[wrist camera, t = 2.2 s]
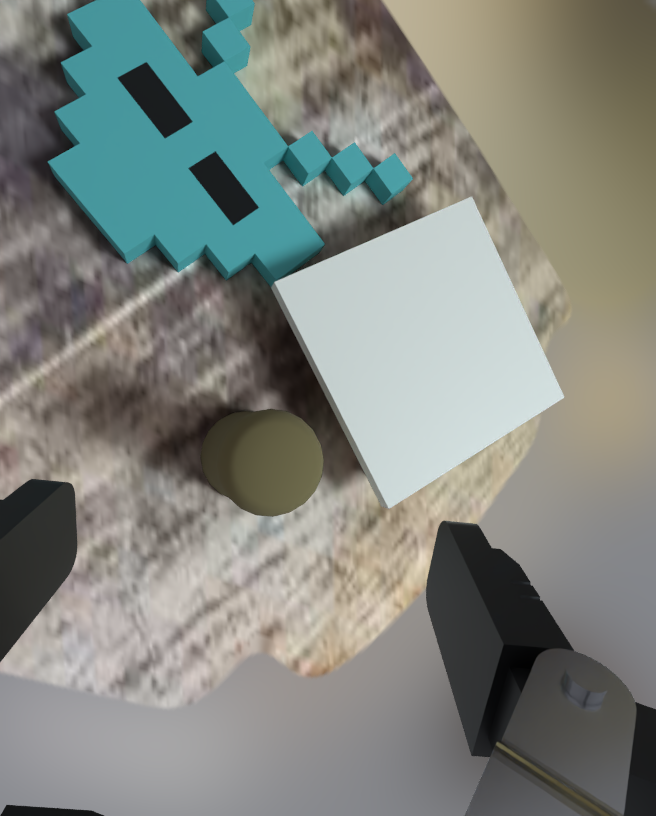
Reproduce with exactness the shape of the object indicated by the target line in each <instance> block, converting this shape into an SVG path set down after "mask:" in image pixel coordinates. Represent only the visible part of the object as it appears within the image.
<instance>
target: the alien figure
mask: <svg viewBox="0 0 656 816" xmlns="http://www.w3.org/2000/svg"><path fill="white" fill-rule="evenodd" d="M254 4H255V3H254V2H253V1H252V0H207V1H206V11H207V12H208V14H209V15H210V16H211V18H212V19H213V20H214V22H215V23H216V25H214V26H212V27H210V28H208V29H207V30H205V31H203V33H202V53H203V55H204V56H205V57H206V59H207V60H208V61H209V63H210V64H211V65H212V67H213V68H212V69H210V70H208V71H206V72H205V73H203V74H201V75H199V76H197V75H196V73H195V72H194V71H193V69H192V68H191V67H190V65H189V64H188V63H187V61H186V60H185V59H184V57H183V56H182V55H181V54H180V52H179V51H178V50H177V48H176V47H175V46H174V44H173V43H172V42H171V40H170V39H169V38H168V36H167V35H166V34H165V32H164V31H163V30H162V28H161V27H160V26H159V25H158V23H157V22H156V21H155V19H154V18H153V17H152V15H151V14H150V13H149V11H148V10H147V9H146V7H145V6H144V5H143V3H142V2H141V1H140V0H96V1H93V2H91V3H89V4H87V5H85V6H83V7H81V8H79V9H77V10H75V11H73V12H71V13H69V14H67V16H68V20H69V23H70V27H71V31H72V34H73V38H74V39H75V40H76V41H77V43H78V44H79V45H80V46H81V48H82V49H83V50H84V51H82V52H80V53H78V54H76V55H74V56H72V57H70V58H69V59H67V60H65V61H63V62H61V65H62V68H63V71H64V74H65V77H66V80H67V83H68V85H69V86H70V87H71V88H72V90H73V91H74V92H75V93H76V95H77V96H78V97H79V99H77V100H75V101H73V102H71V103H69V104H67V105H66V106H64V107H62V108H60V109H58V110H56V111H55V115H56V118H57V120H58V123H59V125H60V128H61V130H62V131H63V132H64V134H65V135H66V136H67V137H68V139H69V140H70V141H71V142H72V143H73V145H74V147H73V148H71V149H69V150H67V151H66V152H64V153H62V154H60V155H59V156H57V157H55V158H53V159H52V160H50V161H48V164H49V166H50V168H51V170H52V172H53V174H54V176H55V178H56V179H57V180H58V181H59V182H60V184H61V185H62V186H63V187H64V188H65V190H66V191H67V192H68V193H69V194H70V196H71V197H72V198H73V199H74V200H75V202H76V203H77V204H78V205H79V206H80V208H81V209H82V210H83V211H84V212H85V214H86V215H87V216H88V217H89V218H90V220H91V221H92V222H93V223H94V224H95V225H96V227H97V228H98V229H99V230H100V231H101V233H102V234H103V235H104V236H105V237H106V239H107V240H108V241H109V242H110V243H111V245H112V246H113V247H114V248H115V249H116V251H117V252H118V253H119V254H120V255H121V257H122V258H123V259H124V260H125V261H126V263H127V264H128V263H129V262H131V261H132V260H134V259H135V258H137V257H138V256H140V255H141V254H143V253H144V252H146V251H147V250H149V249H150V248H152V247H153V246H155V245H156V246H157V247H158V248H159V249H160V251H161V252H162V253H163V254H164V256H165V257H166V258H167V259H168V260H169V262H170V263H171V264H172V265H173V267H174V268H175V269H176V270H177V271H178V272H180V271H181V270H182V269H184V268H185V267H187V266H188V265H190V264H191V263H193V262H194V261H195V260H197V259H198V258H200V257H201V256H203V255H204V254H205V255H206V256H207V257H208V258H209V260H210V261H211V262H212V263H213V265H214V266H215V267H216V268H217V270H218V271H219V272H220V273H221V275H222V276H223V277H224V278H225V280H228V279H229V278H231V277H232V276H233V275H235V274H236V273H237V272H239V271H240V270H242V269H243V268H244V267H246V266H247V265H249V264H250V263H252V264H253V265H254V266H255V268H256V269H257V270H258V271H259V273H260V274H261V275H262V276H263V278H264V279H265V280H266V282H267V283H268V284H269V285H270V287H272V285H273V283H274V282H275V281H278V280H280V279H282V278H285V277H287V276H289V275H290V274H292V273H293V272H294V271H296V270H297V269H298V268H300V267H301V266H302V265H304V264H305V263H306V262H308V261H309V260H310V259H312V258H313V257H314V256H316V255H317V254H318V253H319V252H320V250H321V249H322V248H323V246H324V245H325V243H324V242H323V241H322V239H321V238H320V237H319V235H318V234H317V233H316V232H315V230H314V229H313V228H312V226H311V225H310V224H309V222H308V221H307V220H306V218H305V217H304V216H303V214H302V213H301V212H300V210H299V209H298V208H297V206H296V205H295V204H294V203H293V201H292V200H291V199H290V197H289V196H288V195H287V193H286V192H285V191H284V189H283V188H282V187H281V185H280V184H279V183H278V181H277V180H276V179H275V177H274V176H273V175H272V174H271V172H270V171H269V170H270V169H271V168H273V167H274V166H276V165H277V164H279V163H280V162H282V161H284V162H285V164H286V165H287V166H288V168H289V169H290V170H291V172H292V173H293V174H294V176H295V177H296V178H297V180H298V181H299V182H300V184H301V185H302V186H304V185H305V184H307V183H308V182H310V181H311V180H313V179H314V178H315V177H317V176H318V175H320V174H321V173H323V172H324V171H325V172H326V173H327V174H328V176H329V177H330V178H331V180H332V181H333V182H334V184H335V185H336V186H337V188H338V189H339V190H340V192H341V193H342V195H343V196H344V195H346V194H347V193H348V192H350V191H351V190H353V189H354V188H355V187H357V186H358V185H360V184H361V183H362V182H364V181H365V182H366V183H367V184H368V186H369V187H370V189H371V190H372V191H373V193H374V194H375V195H376V197H377V198H378V200H379V201H380V202H381V204H382V205H384V204H385V203H386V202H388V201H389V200H390V199H392V198H393V197H394V196H396V195H397V194H398V193H400V192H401V191H402V190H403V189H404V188H405V187H406V186H407V185H408V184H409V183H410V181H411V180H412V179H413V178H412V177H411V175H410V174H409V172H408V171H407V170H406V168H405V167H404V165H403V164H402V162H401V161H400V160H399V158H398V157H397V155H396V154H395V153H394V154H393V155H392V156H390V157H389V158H387V159H386V160H385V161H383V162H382V163H380V164H379V165H378V166H376V167H375V168H373V167H372V166H371V164H370V163H369V161H368V160H367V159H366V157H365V156H364V155H363V153H362V152H361V150H360V149H359V148H358V146H357V145H356V143H355V142H354V143H353V144H351V145H350V146H348V147H347V148H346V149H344V150H343V151H341V152H340V153H338V154H337V155H335V156H334V157H331V156H330V154H329V153H328V152H327V150H326V149H325V148H324V146H323V145H322V143H321V142H320V141H319V139H318V138H317V137H316V135H315V134H314V133H313V131H311V132H309V133H308V134H306V135H305V136H303V137H302V138H300V139H299V140H297V141H296V142H294V143H293V144H291V145H290V146H287V144H286V143H285V142H284V140H283V139H282V137H281V136H280V135H279V133H278V132H277V131H276V129H275V128H274V127H273V125H272V124H271V123H270V121H269V120H268V119H267V117H266V116H265V115H264V113H263V112H262V111H261V109H260V108H259V107H258V105H257V104H256V103H255V101H254V100H253V99H252V97H251V96H250V95H249V93H248V92H247V91H246V89H245V88H244V87H243V85H242V84H241V82H240V81H239V80H238V78H237V77H236V76H235V74H234V73H235V72H237V71H239V70H241V69H242V68H244V67H246V66H247V63H248V58H249V52H250V45H249V44H248V43H247V41H246V40H245V38H244V37H243V36H242V34H241V33H240V32H239V31H241V30H243V29H244V28H246V27H248V26H250V25H251V22H252V16H253V10H254Z"/></svg>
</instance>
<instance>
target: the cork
mask: <svg viewBox="0 0 656 816" xmlns="http://www.w3.org/2000/svg"><path fill="white" fill-rule="evenodd" d="M323 462H324V459H323V454H322V448H321V444H320V442H319V441H318V439H317V437H316V435H315V433H314V431H313V430H312V429H311V428H310V427H309V426H308V425H307V424H306V423H305V422H304V421H303V420H302V419H301V418H299V417H297V416H295V415H293V414H291V413H289V412H287V411H282V410H275V409H267V410H261V411H255V412H250V411H242V412H236V413H232V414H230V415H228V416H226V417H224V418H222V419H220V420H219V421H218V422H217V423H216V424H215V425H214V426H213V427H212V428H211V429H210V430H209V431H208V433H207V435H206V437H205V439H204V441H203V444H202V451H201V463H202V469H203V472H204V474H205V476H206V478H207V480H208V482H209V483H210V485H211V486H212V487H214V488H215V489H216V490H217V491H218V492H219V493H220V494H222V495H224V496H227V497H229V498H230V499H231V500H232V501H233V502H234V503H235V504H236V505H237V506H239V507H240V508H241V509H243V510H245V511H248V512H250V513H252V514H255V515H260V516H272V517H273V516H277V515H282V514H286V513H289V512H291V511H293V510H294V509H296V508H298V507H299V506H301V505H303V504H304V503H305V502H306V501H307V500H308V499H309V498H310V497H311V495H312V494H313V493H314V492H315V491H316V488H317V486H318V484H319V482H320V479H321V477H322V471H323Z"/></svg>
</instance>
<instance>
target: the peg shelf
mask: <svg viewBox="0 0 656 816" xmlns="http://www.w3.org/2000/svg"><path fill="white" fill-rule="evenodd" d="M271 289H272V291H273V293H274V295H275V297H276V299H277V301H278V303H279V305H280V307H281V309H282V311H283V313H284V315H285V317H286V319H287V321H288V323H289V325H290V327H291V329H292V331H293V332H294V334H295V336H296V338H297V340H298V342H299V344H300V346H301V348H302V350H303V352H304V354H305V356H306V358H307V360H308V362H309V364H310V366H311V368H312V370H313V372H314V374H315V376H316V378H317V380H318V382H319V384H320V386H321V388H322V390H323V392H324V394H325V396H326V398H327V400H328V402H329V404H330V406H331V408H332V410H333V412H334V414H335V415H336V417H337V419H338V421H339V423H340V425H341V427H342V429H343V431H344V433H345V435H346V437H347V439H348V441H349V443H350V445H351V447H352V449H353V451H354V453H355V455H356V457H357V459H358V461H359V463H360V465H361V467H362V469H363V471H364V473H365V475H366V477H367V479H368V481H369V483H370V485H371V487H372V489H373V491H374V493H375V495H376V496H377V498H378V500H379V502H380V504H381V506H382V507H385V508H388V509H389V508H391V507H392V506H394V505H396V504H397V503H399V502H400V501H402V500H403V499H405V498H407V497H408V496H410V495H411V494H413V493H415V492H416V491H418V490H419V489H421V488H422V487H424V486H426V485H427V484H429V483H430V482H432V481H433V480H435V479H437V478H438V477H440V476H441V475H443V474H444V473H446V472H448V471H449V470H451V469H452V468H454V467H455V466H457V465H459V464H460V463H462V462H463V461H465V460H466V459H468V458H470V457H471V456H473V455H474V454H476V453H478V452H479V451H481V450H482V449H484V448H485V447H487V446H489V445H490V444H492V443H493V442H495V441H496V440H498V439H500V438H501V437H503V436H504V435H506V434H507V433H509V432H511V431H512V430H514V429H515V428H517V427H518V426H520V425H522V424H523V423H525V422H526V421H528V420H529V419H531V418H533V417H534V416H536V415H537V414H539V413H541V412H542V411H544V410H545V409H547V408H548V407H550V406H552V405H553V404H555V403H556V402H558V401H559V400H561V399H563V398H564V396H563V393H562V391H561V389H560V387H559V384H558V382H557V380H556V378H555V376H554V374H553V371H552V369H551V367H550V365H549V363H548V361H547V358H546V356H545V354H544V352H543V350H542V348H541V345H540V343H539V341H538V339H537V337H536V335H535V332H534V330H533V328H532V326H531V324H530V322H529V319H528V317H527V315H526V313H525V311H524V309H523V306H522V304H521V302H520V300H519V298H518V296H517V293H516V291H515V289H514V287H513V285H512V283H511V280H510V278H509V276H508V274H507V272H506V270H505V267H504V265H503V263H502V261H501V259H500V257H499V254H498V252H497V250H496V248H495V246H494V244H493V241H492V239H491V237H490V235H489V233H488V231H487V228H486V226H485V224H484V222H483V220H482V218H481V215H480V213H479V211H478V209H477V207H476V205H475V202H474V200H473V198H472V197H470V198H467V199H465V200H463V201H460V202H458V203H456V204H453V205H451V206H449V207H446V208H444V209H442V210H440V211H437V212H435V213H433V214H430V215H428V216H426V217H423V218H421V219H419V220H416V221H414V222H412V223H409V224H407V225H405V226H403V227H400V228H398V229H396V230H393V231H391V232H389V233H386V234H384V235H382V236H379V237H377V238H375V239H372V240H370V241H368V242H366V243H363V244H361V245H359V246H356V247H354V248H352V249H349V250H347V251H345V252H342V253H340V254H338V255H335V256H333V257H331V258H329V259H326V260H324V261H322V262H319V263H317V264H315V265H312V266H310V267H308V268H305V269H303V270H301V271H298V272H296V273H294V274H292V275H289V276H287V277H285V278H282V279H280V280H278V281H275V282H274V283H273V285H272V287H271Z"/></svg>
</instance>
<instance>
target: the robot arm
mask: <svg viewBox="0 0 656 816" xmlns="http://www.w3.org/2000/svg"><path fill="white" fill-rule="evenodd" d="M76 554H77V528H76V506H75V491H74V488H73V486H72V484H70V483H68V482H58V481H48V480H38V479H31V480H29V481H27V482H26V483H25V484H23V485H22V486H21V487H19V488H18V489H17V490H16V491H14V492H13V493H12V494H10V495H9V496H8V497H6V498H5V499H4V500H0V662H1V661H2V659H3V658H4V657H5V655H6V654H7V653H8V652H9V650H10V649H11V648H12V647H13V645H14V644H15V643H16V642H17V640H18V639H19V638H20V636H21V635H22V634H23V633H24V631H25V630H26V629H27V628H28V626H29V625H30V624H31V622H32V621H33V620H34V619H35V617H36V616H37V615H38V614H39V612H40V611H41V610H42V609H43V607H44V606H45V605H46V603H47V602H48V601H49V600H50V598H51V597H52V596H53V595H54V593H55V592H56V591H57V589H58V588H59V587H60V586H61V584H62V583H63V582H64V581H65V579H66V578H67V577H68V575H69V574H70V572H71V570H72V568H73V565H74V562H75V559H76ZM426 600H427V607H428V612H429V615H430V618H431V622H432V625H433V628H434V631H435V635H436V638H437V642H438V645H439V648H440V652H441V655H442V659H443V662H444V665H445V668H446V672H447V675H448V678H449V682H450V685H451V689H452V692H453V695H454V699H455V702H456V705H457V709H458V712H459V715H460V718H461V722H462V725H463V729H464V732H465V735H466V739H467V742H468V745H469V749H470V752H471V755H472V756H482V757H490V758H489V761H488V763H487V765H486V768H485V770H484V772H483V774H482V777H481V779H480V781H479V784H478V786H477V788H476V791H475V793H474V795H473V798H472V800H471V802H470V805H469V807H468V809H467V811H466V814H465V816H656V709H653V708H650V707H647V706H644V705H642V704H639V703H637V702H635V700H634V698H633V696H632V694H631V692H630V691H629V689H628V688H627V686H626V685H625V684H624V683H623V682H622V681H621V680H620V679H619V678H618V677H617V676H616V675H615V674H614V673H613V672H612V671H610V670H609V669H608V668H607V667H605V666H603V665H602V664H601V663H599V662H598V661H596V660H594V659H592V658H590V657H588V656H586V655H584V654H581V653H578V652H576V651H574V650H573V648H572V647H571V645H570V643H569V642H568V640H567V639H566V637H565V636H564V634H563V632H562V631H561V629H560V628H559V626H558V625H557V623H556V622H555V620H554V618H553V617H552V615H551V614H550V612H549V611H548V609H547V607H546V606H545V604H544V603H543V601H540V596H539V595H538V593H537V592H536V590H535V589H534V587H533V586H531V585H530V581H529V579H528V578H527V576H526V574H525V573H524V571H523V570H522V568H521V567H520V565H519V564H518V563H516V562H515V561H514V560H513V559H512V558H511V557H509V556H508V555H507V554H506V553H505V552H503V551H502V550H501V549H493V548H491V546H490V545H489V543H488V541H487V539H486V537H485V536H484V534H483V532H482V530H481V529H480V527H479V526H478V525H477V524H472V523H461V522H451V521H442V522H441V524H440V526H439V529H438V532H437V537H436V542H435V546H434V551H433V556H432V560H431V565H430V570H429V574H428V579H427V587H426ZM1 816H104V815H101V814H99V813H96V812H94V811H89V810H73V809H59V808H45V807H30V806H15V805H6V807H5V809H4V810H3V812H2V814H1Z"/></svg>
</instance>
